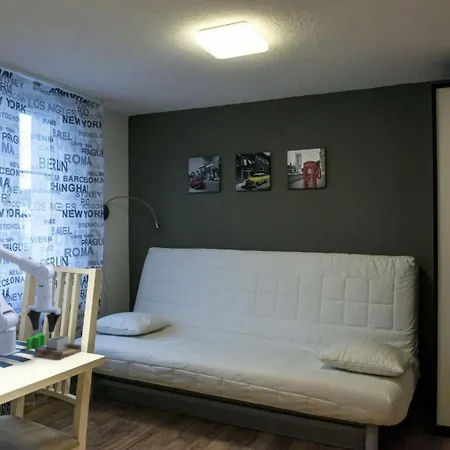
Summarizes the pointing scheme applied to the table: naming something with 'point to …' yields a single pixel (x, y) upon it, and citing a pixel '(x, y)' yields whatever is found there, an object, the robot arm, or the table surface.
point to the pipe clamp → (36, 341)
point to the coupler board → (58, 352)
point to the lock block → (58, 343)
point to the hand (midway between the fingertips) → (43, 330)
